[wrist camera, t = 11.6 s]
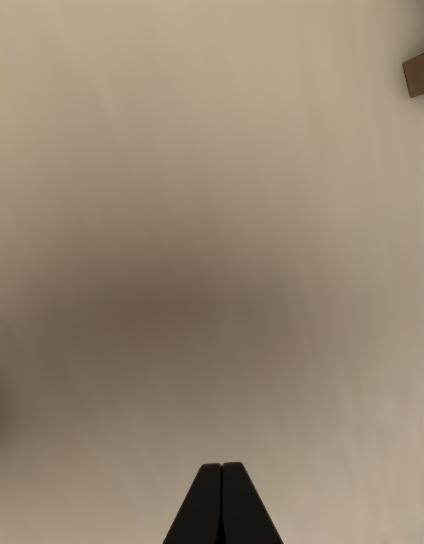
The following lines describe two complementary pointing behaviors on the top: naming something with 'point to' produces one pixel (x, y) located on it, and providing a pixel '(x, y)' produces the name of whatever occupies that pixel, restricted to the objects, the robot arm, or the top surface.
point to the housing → (415, 75)
